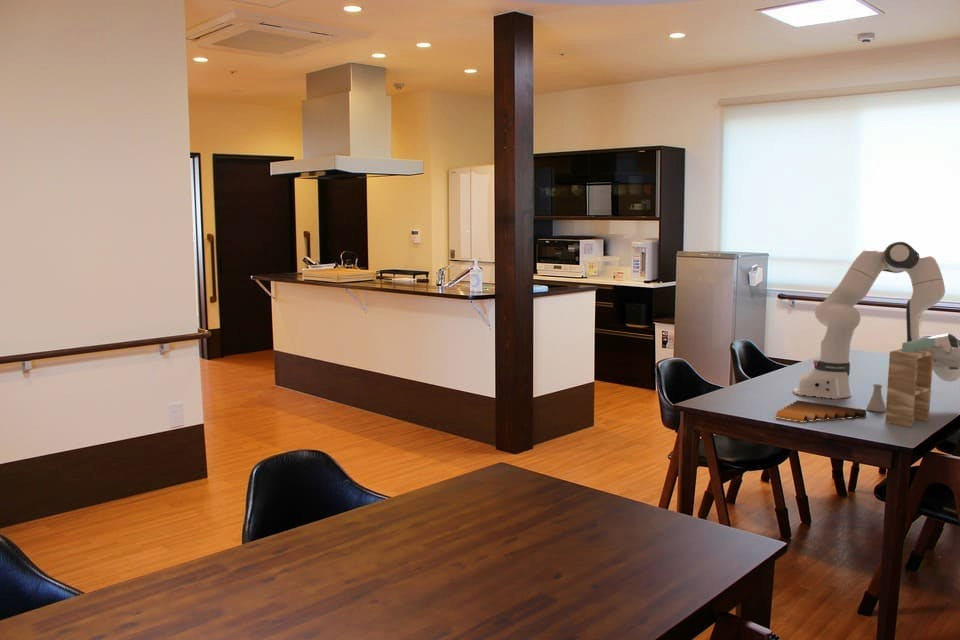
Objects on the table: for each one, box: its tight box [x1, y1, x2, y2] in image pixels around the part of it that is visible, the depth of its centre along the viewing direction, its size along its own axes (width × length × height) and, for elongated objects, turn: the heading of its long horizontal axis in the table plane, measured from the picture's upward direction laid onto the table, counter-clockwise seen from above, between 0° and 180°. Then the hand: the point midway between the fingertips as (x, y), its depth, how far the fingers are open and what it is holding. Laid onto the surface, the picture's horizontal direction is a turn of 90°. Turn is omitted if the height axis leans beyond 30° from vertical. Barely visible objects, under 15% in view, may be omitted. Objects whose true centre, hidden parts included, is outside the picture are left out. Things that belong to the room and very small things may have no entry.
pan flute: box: [775, 400, 867, 422], centre depth 295 cm, size 25×3×25 cm
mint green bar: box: [901, 337, 935, 353], centre depth 289 cm, size 20×3×3 cm, turn 130°
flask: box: [865, 383, 886, 413], centre depth 305 cm, size 7×7×10 cm
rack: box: [884, 348, 934, 428], centre depth 287 cm, size 15×9×26 cm, turn 130°
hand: (927, 343), depth 294 cm, fingers open, 8 cm apart
